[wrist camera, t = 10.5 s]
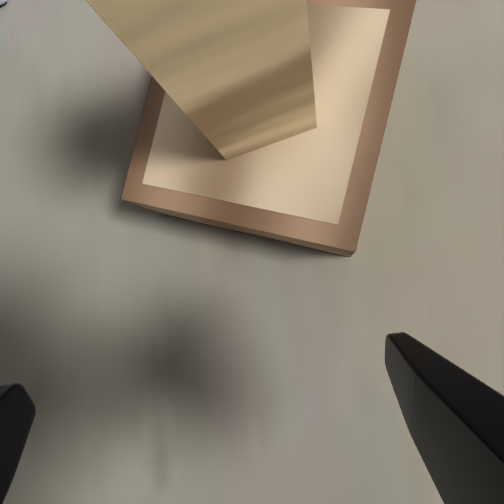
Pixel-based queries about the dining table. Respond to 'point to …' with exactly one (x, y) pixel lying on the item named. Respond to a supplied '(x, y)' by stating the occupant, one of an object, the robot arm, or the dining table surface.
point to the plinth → (287, 141)
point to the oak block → (225, 64)
